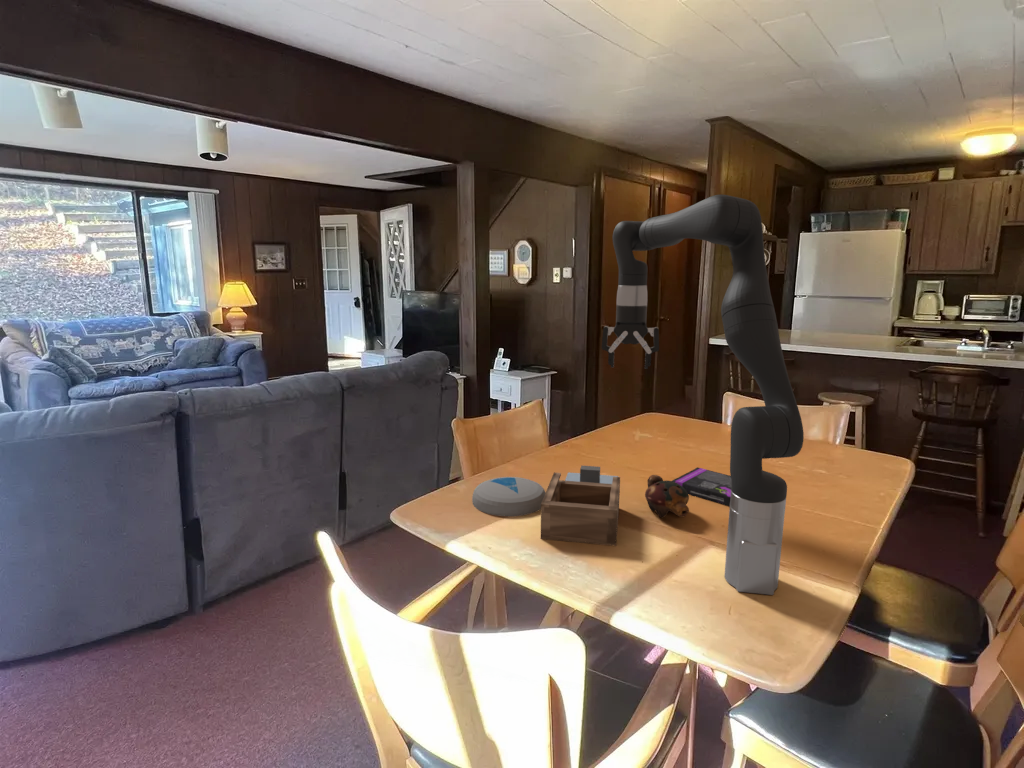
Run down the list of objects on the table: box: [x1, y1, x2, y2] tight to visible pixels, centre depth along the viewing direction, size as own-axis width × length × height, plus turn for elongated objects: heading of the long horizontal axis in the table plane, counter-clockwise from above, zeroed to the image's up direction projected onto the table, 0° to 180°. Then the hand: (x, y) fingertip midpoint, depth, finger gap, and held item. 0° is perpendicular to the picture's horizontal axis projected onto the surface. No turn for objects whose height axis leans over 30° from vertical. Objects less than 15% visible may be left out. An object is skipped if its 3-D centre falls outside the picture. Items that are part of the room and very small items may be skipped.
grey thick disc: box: [471, 476, 546, 517], centre depth 146 cm, size 18×18×5 cm
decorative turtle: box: [644, 474, 690, 518], centre depth 138 cm, size 10×15×8 cm, turn 21°
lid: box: [564, 465, 619, 484], centre depth 155 cm, size 18×14×6 cm
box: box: [671, 466, 731, 508], centre depth 151 cm, size 14×4×20 cm
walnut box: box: [540, 472, 621, 547], centre depth 133 cm, size 20×16×8 cm
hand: (629, 367), depth 149 cm, fingers open, 8 cm apart
